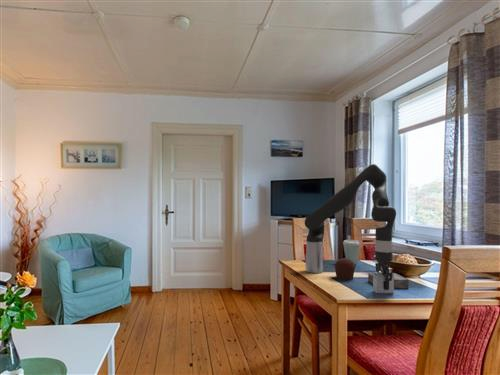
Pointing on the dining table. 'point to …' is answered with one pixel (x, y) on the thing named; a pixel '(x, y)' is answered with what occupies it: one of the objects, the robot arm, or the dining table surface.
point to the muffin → (344, 269)
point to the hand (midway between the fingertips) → (383, 288)
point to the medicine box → (382, 283)
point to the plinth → (398, 280)
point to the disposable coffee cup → (351, 250)
